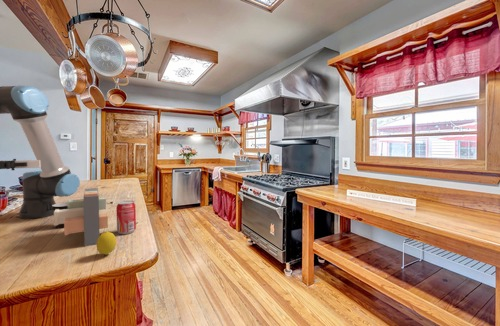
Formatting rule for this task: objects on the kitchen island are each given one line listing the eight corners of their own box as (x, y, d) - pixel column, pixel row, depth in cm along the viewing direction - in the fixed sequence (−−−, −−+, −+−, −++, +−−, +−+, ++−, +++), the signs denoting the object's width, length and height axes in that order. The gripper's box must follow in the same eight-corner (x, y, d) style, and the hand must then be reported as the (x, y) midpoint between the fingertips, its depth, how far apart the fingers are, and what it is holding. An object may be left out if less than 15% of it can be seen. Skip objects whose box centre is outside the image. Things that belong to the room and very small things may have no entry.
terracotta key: (65, 231, 82) (65, 217, 82) (107, 225, 90) (106, 212, 90) (64, 235, 79) (64, 221, 78) (107, 228, 86) (107, 215, 86)
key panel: (86, 229, 98) (85, 187, 97) (98, 227, 101) (97, 186, 100) (84, 246, 82) (83, 194, 81) (99, 243, 84) (98, 193, 83)
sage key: (68, 211, 94) (68, 199, 93) (105, 207, 101) (105, 196, 101) (67, 214, 90) (67, 201, 90) (105, 209, 97) (105, 198, 97)
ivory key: (55, 222, 86) (55, 209, 86) (96, 217, 93) (96, 205, 93) (54, 225, 82) (53, 212, 82) (96, 220, 90) (96, 207, 89)
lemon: (102, 251, 78) (102, 228, 77) (119, 251, 78) (119, 228, 78) (92, 259, 72) (92, 234, 72) (111, 258, 73) (110, 234, 72)
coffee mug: (63, 230, 97) (62, 207, 97) (47, 228, 99) (46, 205, 99) (87, 221, 109) (87, 201, 108) (73, 220, 111) (72, 200, 110)
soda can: (139, 230, 99) (139, 201, 98) (125, 236, 92) (125, 204, 91) (127, 228, 101) (126, 199, 100) (112, 233, 94) (112, 203, 93)
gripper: (-50, 175, 77) (43, 172, 90) (-73, 180, 66) (36, 175, 80) (-51, 153, 76) (42, 153, 90) (-75, 155, 66) (35, 154, 79)
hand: (39, 163), depth 85 cm, fingers closed
